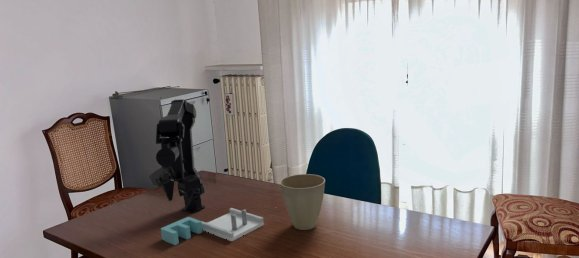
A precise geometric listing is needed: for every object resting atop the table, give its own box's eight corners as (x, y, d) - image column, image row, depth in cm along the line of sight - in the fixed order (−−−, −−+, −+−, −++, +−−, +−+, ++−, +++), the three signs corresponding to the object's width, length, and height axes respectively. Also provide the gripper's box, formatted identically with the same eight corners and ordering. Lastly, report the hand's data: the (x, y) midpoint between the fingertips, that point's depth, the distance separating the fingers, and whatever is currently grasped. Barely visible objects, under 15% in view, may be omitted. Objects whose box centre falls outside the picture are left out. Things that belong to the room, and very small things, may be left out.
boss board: (200, 229, 155) (198, 212, 154) (232, 214, 166) (230, 198, 165) (231, 241, 145) (230, 223, 143) (263, 225, 156) (262, 208, 154)
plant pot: (336, 225, 152) (334, 180, 149) (301, 239, 143) (299, 192, 140) (307, 212, 164) (305, 170, 160) (274, 225, 155) (271, 180, 152)
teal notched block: (162, 239, 149) (160, 228, 148) (189, 227, 157) (188, 216, 156) (174, 245, 144) (173, 233, 144) (202, 232, 153) (201, 221, 152)
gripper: (135, 159, 145) (141, 205, 148) (169, 168, 133) (175, 218, 136) (164, 151, 153) (169, 195, 157) (199, 159, 141) (204, 206, 145)
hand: (178, 203), depth 148 cm, fingers open, 9 cm apart
